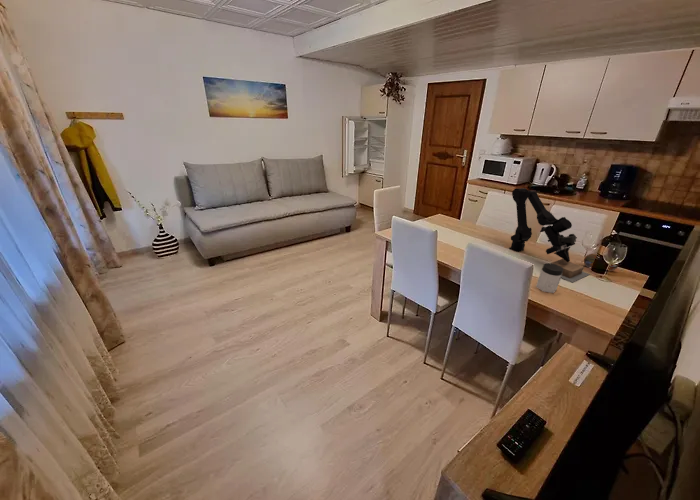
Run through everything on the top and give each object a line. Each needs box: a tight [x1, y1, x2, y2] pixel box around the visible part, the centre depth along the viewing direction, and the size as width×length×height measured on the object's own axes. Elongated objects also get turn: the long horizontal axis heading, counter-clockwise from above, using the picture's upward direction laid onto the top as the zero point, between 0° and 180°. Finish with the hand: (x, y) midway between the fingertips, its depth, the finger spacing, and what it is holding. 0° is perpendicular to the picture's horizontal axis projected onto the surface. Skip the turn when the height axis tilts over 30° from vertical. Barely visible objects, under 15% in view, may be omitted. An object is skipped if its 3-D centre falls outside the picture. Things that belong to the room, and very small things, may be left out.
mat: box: [561, 270, 591, 284], centre depth 160 cm, size 13×18×1 cm
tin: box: [583, 253, 620, 272], centre depth 165 cm, size 15×3×8 cm, turn 62°
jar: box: [535, 262, 563, 294], centre depth 143 cm, size 9×8×12 cm
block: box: [551, 258, 585, 278], centre depth 161 cm, size 4×12×11 cm
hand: (568, 261), depth 159 cm, fingers closed
